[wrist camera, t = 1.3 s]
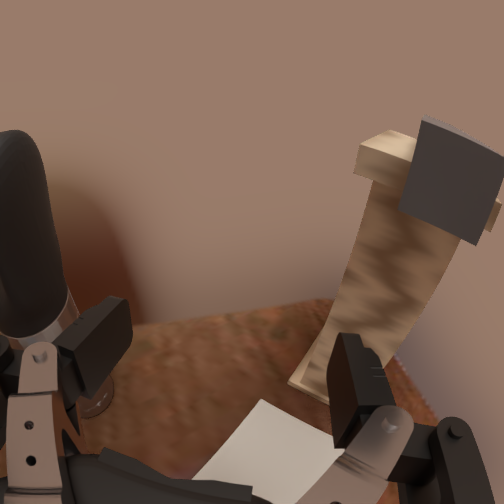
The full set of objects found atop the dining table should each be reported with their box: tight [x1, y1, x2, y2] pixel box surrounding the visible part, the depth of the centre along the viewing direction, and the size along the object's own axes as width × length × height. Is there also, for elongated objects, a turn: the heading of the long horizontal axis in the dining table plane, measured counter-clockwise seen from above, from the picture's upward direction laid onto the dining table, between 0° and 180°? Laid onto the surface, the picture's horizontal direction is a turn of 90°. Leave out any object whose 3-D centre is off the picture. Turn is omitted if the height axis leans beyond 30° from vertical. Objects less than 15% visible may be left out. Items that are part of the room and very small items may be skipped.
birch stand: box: [287, 130, 502, 406], centre depth 28 cm, size 11×15×32 cm
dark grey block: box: [397, 115, 504, 246], centre depth 16 cm, size 3×26×3 cm, turn 146°
